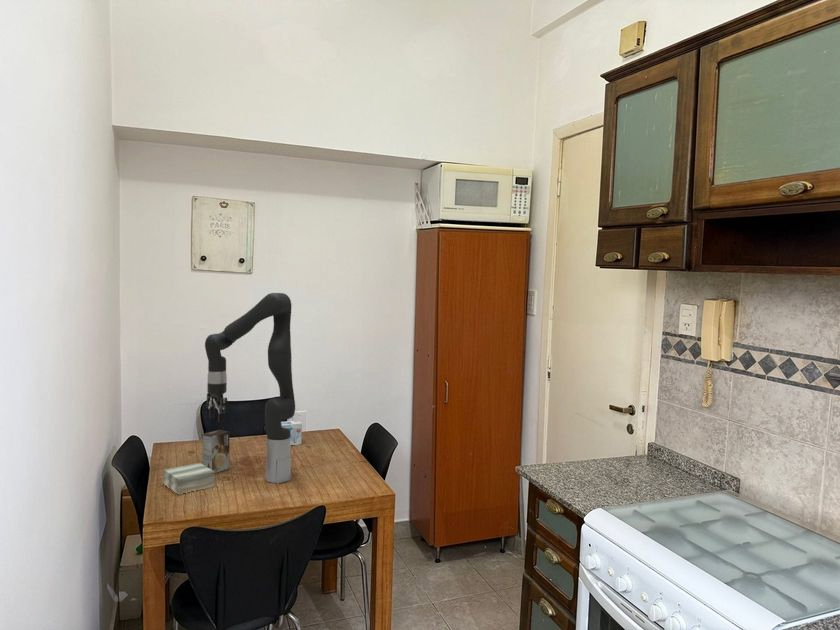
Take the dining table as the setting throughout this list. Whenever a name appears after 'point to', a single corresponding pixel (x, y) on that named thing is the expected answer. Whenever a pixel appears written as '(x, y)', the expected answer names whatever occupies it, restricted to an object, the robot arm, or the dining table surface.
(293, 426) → the light bulb box
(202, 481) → the tower base
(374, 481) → the dining table surface
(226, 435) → the coffee box
